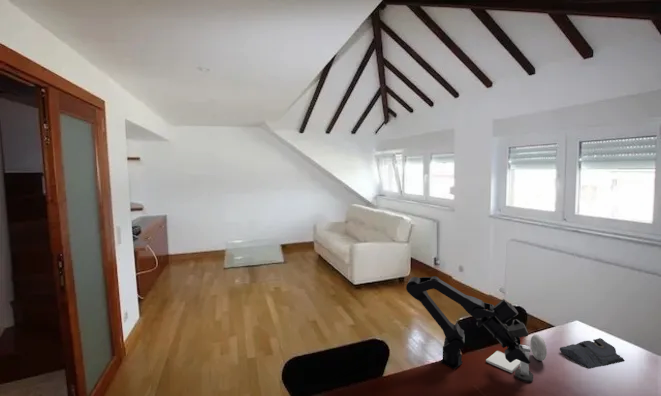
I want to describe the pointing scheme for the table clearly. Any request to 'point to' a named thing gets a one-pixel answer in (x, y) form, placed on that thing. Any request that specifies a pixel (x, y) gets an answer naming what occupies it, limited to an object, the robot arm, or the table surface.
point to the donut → (538, 347)
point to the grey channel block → (524, 368)
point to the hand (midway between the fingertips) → (528, 361)
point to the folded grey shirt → (592, 353)
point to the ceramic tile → (503, 362)
